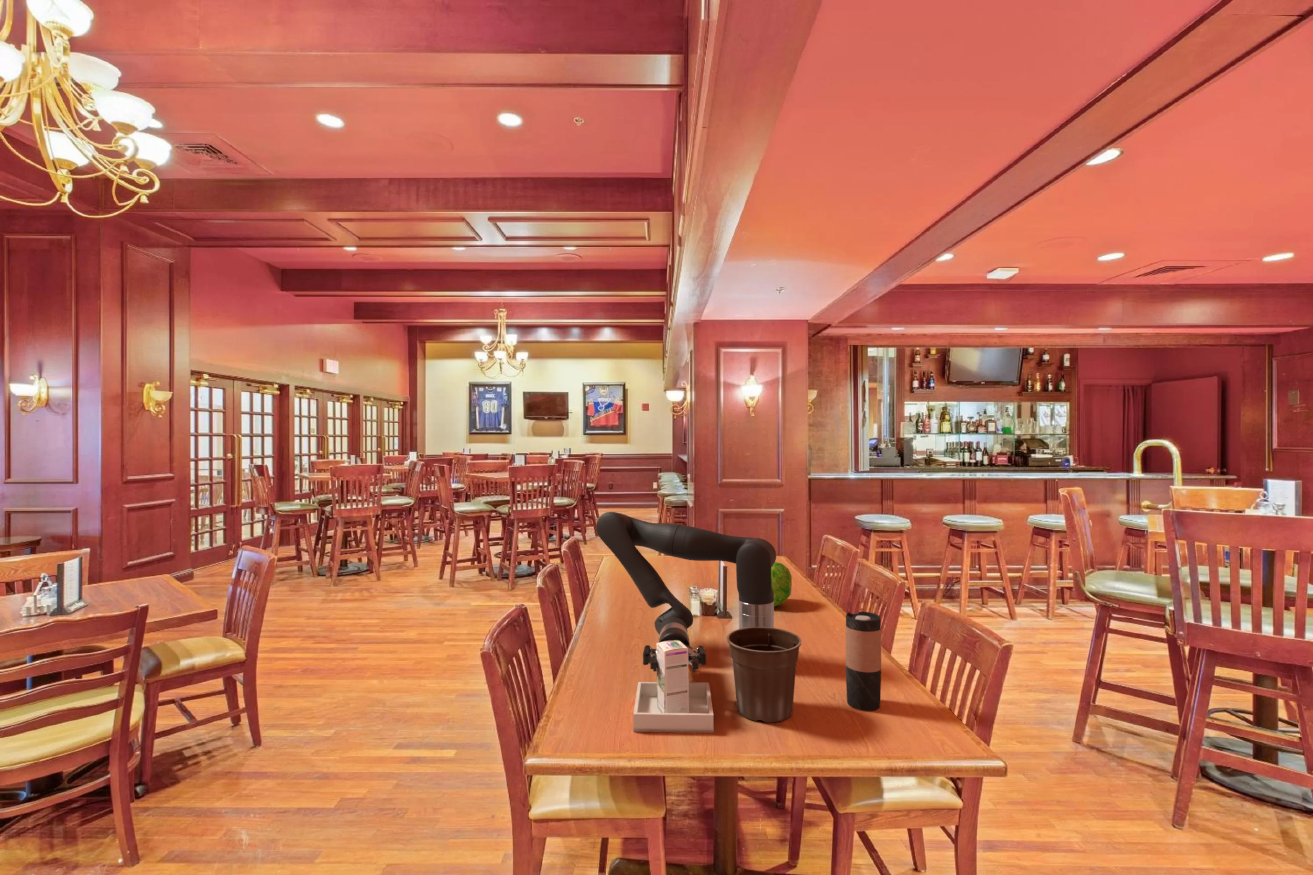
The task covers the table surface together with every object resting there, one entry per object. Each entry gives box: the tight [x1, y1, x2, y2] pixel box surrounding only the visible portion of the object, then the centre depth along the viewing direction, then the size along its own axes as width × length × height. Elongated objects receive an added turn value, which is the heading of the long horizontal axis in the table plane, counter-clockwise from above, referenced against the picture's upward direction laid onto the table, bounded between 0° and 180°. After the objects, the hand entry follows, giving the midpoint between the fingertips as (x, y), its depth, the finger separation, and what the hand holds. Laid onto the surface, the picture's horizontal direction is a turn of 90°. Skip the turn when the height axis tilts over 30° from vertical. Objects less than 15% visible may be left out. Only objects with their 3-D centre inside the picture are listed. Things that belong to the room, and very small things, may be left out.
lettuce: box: [771, 561, 793, 608], centre depth 216 cm, size 17×20×16 cm
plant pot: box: [726, 627, 802, 724], centre depth 132 cm, size 16×16×16 cm
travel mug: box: [845, 610, 882, 712], centre depth 135 cm, size 8×8×20 cm
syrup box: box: [656, 640, 690, 713], centre depth 131 cm, size 6×6×14 cm
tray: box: [632, 681, 714, 734], centre depth 130 cm, size 16×16×4 cm
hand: (674, 667), depth 130 cm, fingers open, 8 cm apart
